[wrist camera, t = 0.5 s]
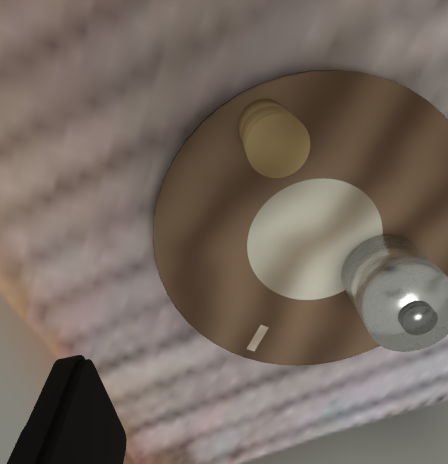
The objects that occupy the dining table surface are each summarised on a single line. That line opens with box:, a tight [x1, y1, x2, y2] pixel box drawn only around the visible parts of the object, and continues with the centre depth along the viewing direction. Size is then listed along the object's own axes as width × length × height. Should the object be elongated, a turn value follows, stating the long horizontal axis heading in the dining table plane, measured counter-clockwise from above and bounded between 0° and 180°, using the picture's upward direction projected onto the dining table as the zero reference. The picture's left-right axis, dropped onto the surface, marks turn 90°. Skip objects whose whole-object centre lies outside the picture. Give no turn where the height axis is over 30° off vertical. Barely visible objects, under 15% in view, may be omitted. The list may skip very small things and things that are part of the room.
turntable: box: [153, 70, 448, 366], centre depth 30 cm, size 26×26×8 cm
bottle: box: [341, 234, 448, 352], centre depth 31 cm, size 7×7×7 cm
